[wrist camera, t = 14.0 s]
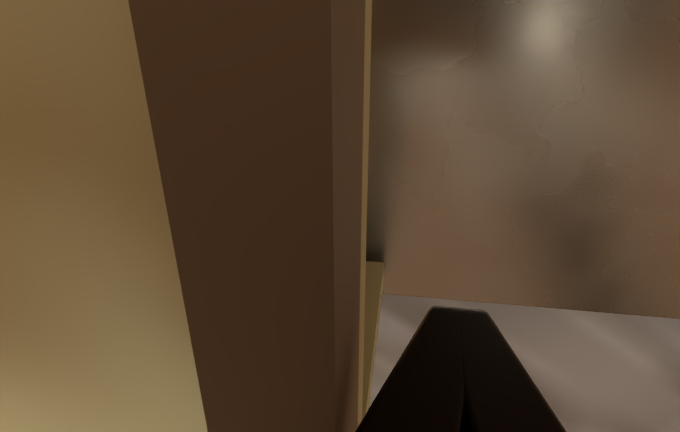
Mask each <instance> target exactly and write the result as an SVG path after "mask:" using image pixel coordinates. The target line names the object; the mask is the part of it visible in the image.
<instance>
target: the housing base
mask: <svg viewBox="0 0 680 432" xmlns="http://www.w3.org/2000/svg"><path fill="white" fill-rule="evenodd" d="M366 261H371V262H384V274H383V290H382V294H392V295H404V296H416V297H428V298H440V299H452V300H464V301H475V302H487V303H499V304H511V305H523V306H535V307H546V308H558V309H570V310H582V311H594V312H606V313H617V314H629V315H641V316H653V317H665V318H677V319H680V0H372V24H371V65H370V107H369V149H368V191H367V232H366Z"/></svg>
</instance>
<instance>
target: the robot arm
mask: <svg viewBox="0 0 680 432" xmlns="http://www.w3.org/2000/svg"><path fill="white" fill-rule="evenodd" d="M355 432H566V431H565V429H564V428H563V426H562V424H561V423H560V421H559V420H558V418H557V417H556V415H555V414H554V412H553V411H552V409H551V408H550V406H549V405H548V403H547V402H546V400H545V399H544V397H543V396H542V394H541V393H540V391H539V390H538V388H537V387H536V385H535V384H534V382H533V381H532V379H531V378H530V376H529V375H528V373H527V372H526V370H525V369H524V367H523V365H522V364H521V362H520V361H519V359H518V358H517V356H516V355H515V353H514V352H513V350H512V349H511V347H510V346H509V344H508V343H507V341H506V340H505V338H504V337H503V335H502V334H501V332H500V331H499V329H498V328H497V326H496V325H495V323H494V322H493V320H492V319H491V317H490V316H489V314H488V313H487V312H485V311H483V310H475V309H464V308H453V307H443V306H433V307H431V308H430V309H429V311H428V312H427V314H426V316H425V317H424V319H423V321H422V322H421V324H420V326H419V327H418V329H417V331H416V332H415V334H414V335H413V337H412V339H411V340H410V342H409V344H408V345H407V347H406V349H405V350H404V352H403V354H402V355H401V357H400V358H399V360H398V362H397V363H396V365H395V367H394V368H393V370H392V372H391V373H390V375H389V377H388V378H387V380H386V382H385V383H384V385H383V386H382V388H381V390H380V391H379V393H378V395H377V396H376V398H375V400H374V401H373V403H372V405H371V406H370V408H369V409H368V411H367V413H366V414H365V416H364V418H363V419H362V421H361V423H360V424H359V426H358V428H357V429H356V431H355Z"/></svg>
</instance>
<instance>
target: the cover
mask: <svg viewBox="0 0 680 432" xmlns="http://www.w3.org/2000/svg"><path fill="white" fill-rule="evenodd" d="M371 24H372V0H0V432H355V431H356V429H357V428H358V426H359V424H360V423H361V421H362V419H363V418H364V416H365V414H366V413H367V411H368V407H369V399H370V391H371V382H372V374H373V366H374V357H375V349H376V341H377V332H378V324H379V315H380V307H381V299H382V290H383V274H384V262H371V261H366V232H367V191H368V149H369V107H370V65H371Z"/></svg>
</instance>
